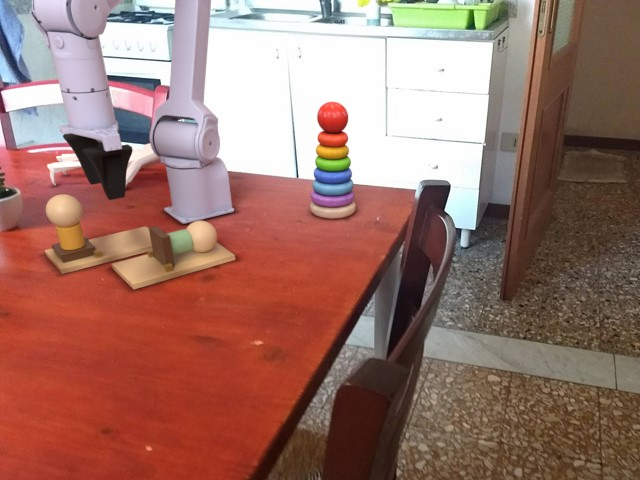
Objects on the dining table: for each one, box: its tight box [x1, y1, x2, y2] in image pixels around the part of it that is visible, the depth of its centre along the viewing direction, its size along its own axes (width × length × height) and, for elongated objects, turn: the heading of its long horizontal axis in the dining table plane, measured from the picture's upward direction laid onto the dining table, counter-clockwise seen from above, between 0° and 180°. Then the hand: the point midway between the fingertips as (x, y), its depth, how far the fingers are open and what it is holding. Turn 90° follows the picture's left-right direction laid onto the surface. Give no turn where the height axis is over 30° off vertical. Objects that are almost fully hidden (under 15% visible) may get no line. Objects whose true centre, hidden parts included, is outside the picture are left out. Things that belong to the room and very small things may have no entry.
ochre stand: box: [44, 226, 152, 275], centre depth 94 cm, size 15×8×2 cm, turn 131°
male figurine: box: [46, 142, 161, 188], centre depth 122 cm, size 14×6×25 cm
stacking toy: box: [309, 101, 357, 220], centre depth 106 cm, size 8×8×19 cm
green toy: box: [148, 220, 218, 266], centre depth 91 cm, size 9×5×5 cm, turn 131°
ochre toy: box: [45, 193, 96, 262], centre depth 90 cm, size 9×5×5 cm
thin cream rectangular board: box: [111, 241, 236, 290], centre depth 91 cm, size 15×8×2 cm, turn 131°
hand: (107, 190), depth 88 cm, fingers open, 7 cm apart
